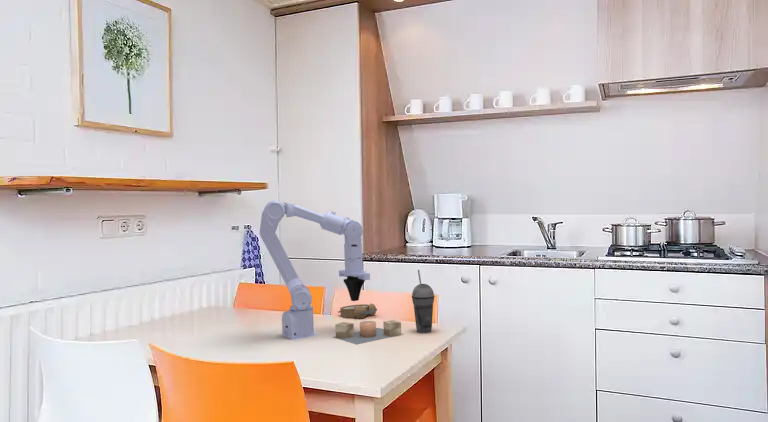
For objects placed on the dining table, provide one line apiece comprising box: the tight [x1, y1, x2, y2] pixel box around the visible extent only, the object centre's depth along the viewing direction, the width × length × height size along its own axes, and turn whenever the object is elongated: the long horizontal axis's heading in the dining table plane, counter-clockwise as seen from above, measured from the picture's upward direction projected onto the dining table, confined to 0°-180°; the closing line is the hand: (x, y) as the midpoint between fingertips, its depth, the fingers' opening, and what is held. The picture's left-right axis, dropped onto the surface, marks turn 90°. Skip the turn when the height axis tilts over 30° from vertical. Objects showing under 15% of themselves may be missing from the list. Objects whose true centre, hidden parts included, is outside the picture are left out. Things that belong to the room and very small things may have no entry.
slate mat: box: [332, 327, 404, 345], centre depth 183 cm, size 18×13×1 cm
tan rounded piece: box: [359, 320, 377, 337], centre depth 183 cm, size 5×5×4 cm
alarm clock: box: [337, 303, 378, 320], centre depth 217 cm, size 11×5×15 cm
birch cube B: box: [383, 319, 402, 338], centre depth 183 cm, size 4×4×4 cm
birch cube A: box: [334, 321, 355, 339], centre depth 182 cm, size 4×4×4 cm
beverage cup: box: [411, 269, 436, 334], centre depth 186 cm, size 7×7×20 cm
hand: (354, 300), depth 190 cm, fingers closed
